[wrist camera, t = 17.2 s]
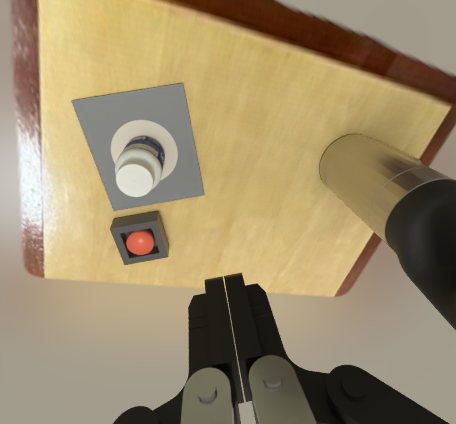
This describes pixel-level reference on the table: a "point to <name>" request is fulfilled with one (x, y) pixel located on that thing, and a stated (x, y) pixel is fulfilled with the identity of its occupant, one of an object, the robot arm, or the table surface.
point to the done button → (140, 241)
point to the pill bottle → (140, 166)
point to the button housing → (140, 222)
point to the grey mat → (142, 125)
